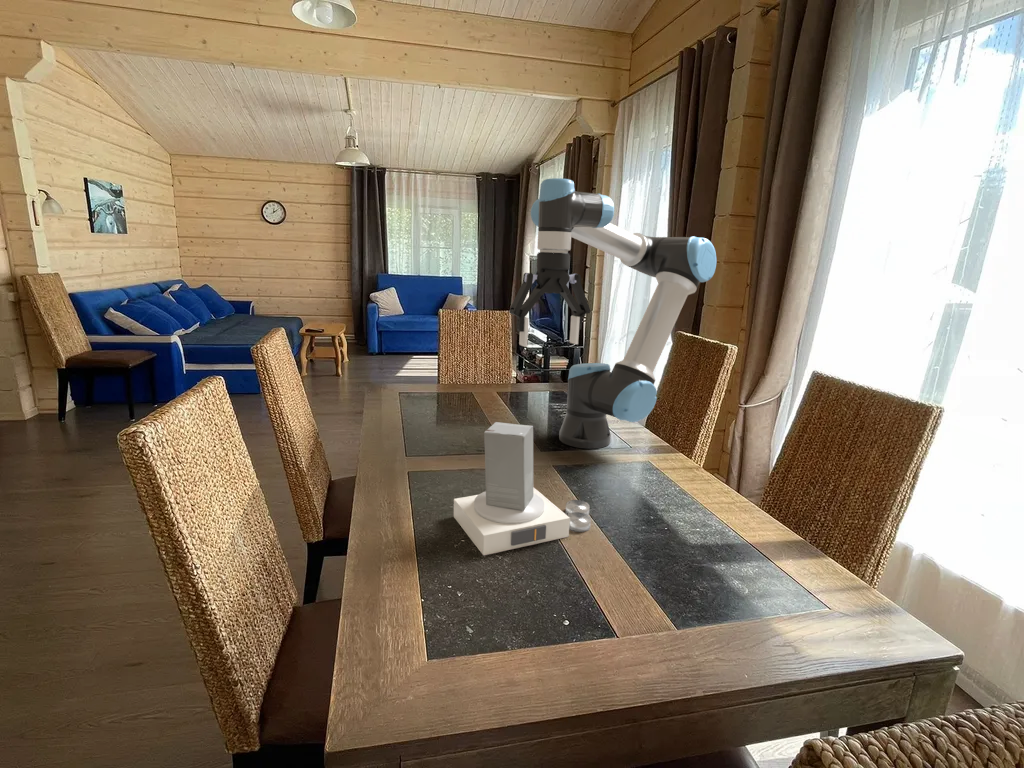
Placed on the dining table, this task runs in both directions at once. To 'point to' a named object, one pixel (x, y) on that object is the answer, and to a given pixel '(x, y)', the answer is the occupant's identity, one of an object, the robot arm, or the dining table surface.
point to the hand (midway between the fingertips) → (549, 344)
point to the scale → (510, 523)
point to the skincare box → (509, 465)
